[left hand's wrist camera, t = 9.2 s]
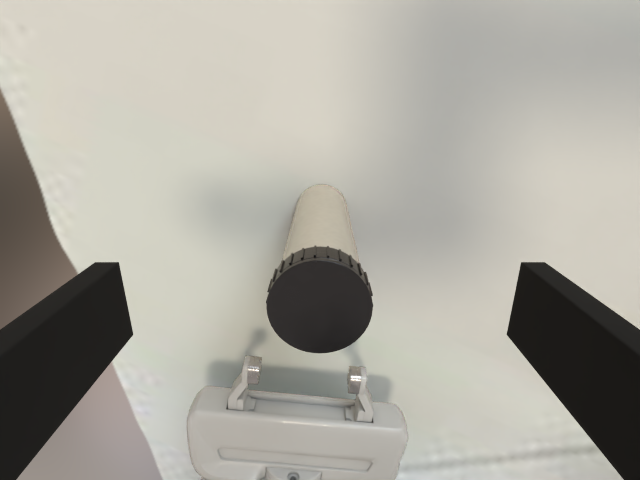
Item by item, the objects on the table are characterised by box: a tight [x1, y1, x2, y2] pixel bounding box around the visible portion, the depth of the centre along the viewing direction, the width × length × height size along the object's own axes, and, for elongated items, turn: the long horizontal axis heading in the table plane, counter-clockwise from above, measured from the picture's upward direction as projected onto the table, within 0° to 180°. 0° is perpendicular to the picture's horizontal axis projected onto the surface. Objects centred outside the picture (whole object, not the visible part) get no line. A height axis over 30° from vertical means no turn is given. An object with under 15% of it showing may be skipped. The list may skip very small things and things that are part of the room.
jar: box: [281, 185, 360, 263], centre depth 27 cm, size 5×5×18 cm
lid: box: [266, 245, 373, 353], centre depth 19 cm, size 5×5×2 cm
